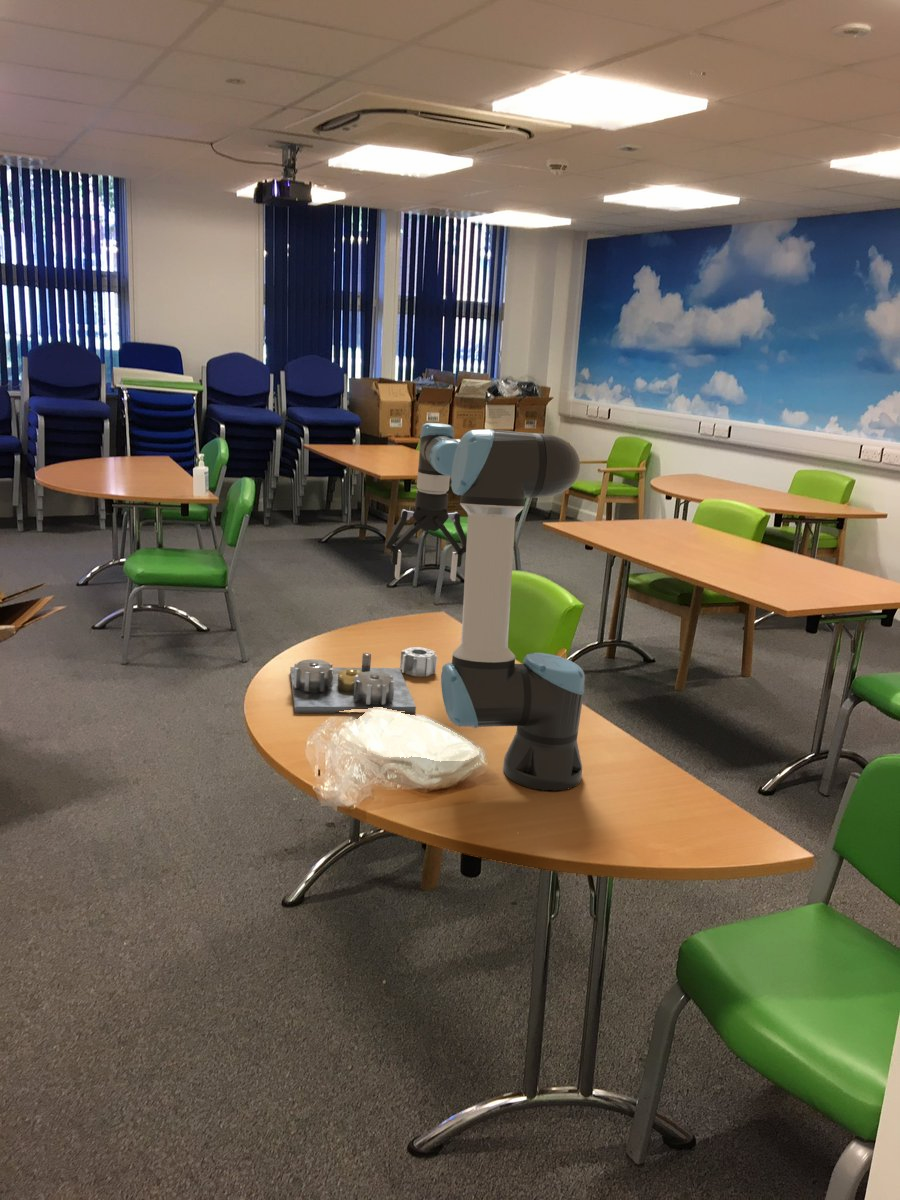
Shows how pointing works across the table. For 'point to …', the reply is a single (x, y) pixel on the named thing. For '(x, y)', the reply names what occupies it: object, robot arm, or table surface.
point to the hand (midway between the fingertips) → (425, 578)
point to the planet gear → (418, 661)
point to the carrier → (347, 687)
